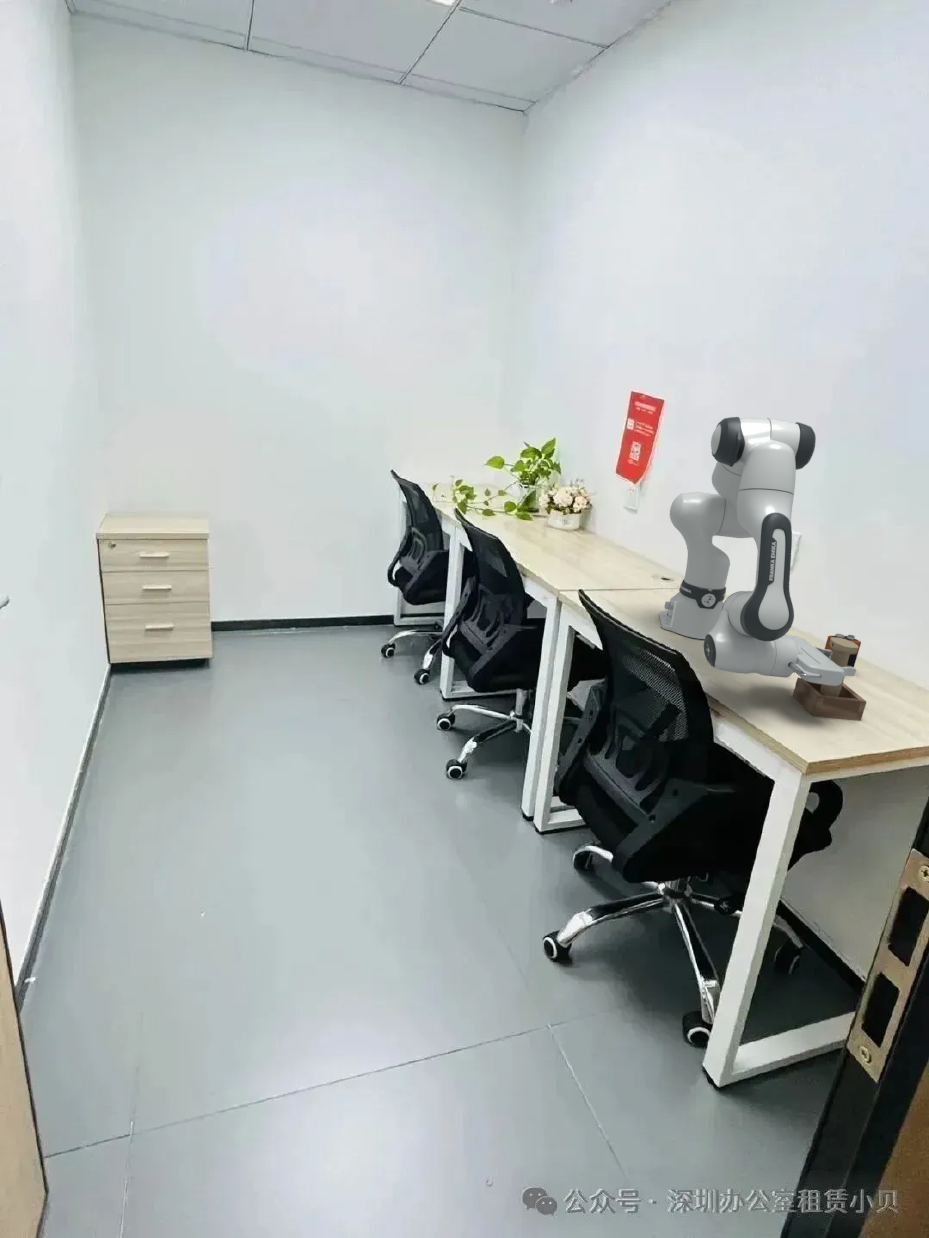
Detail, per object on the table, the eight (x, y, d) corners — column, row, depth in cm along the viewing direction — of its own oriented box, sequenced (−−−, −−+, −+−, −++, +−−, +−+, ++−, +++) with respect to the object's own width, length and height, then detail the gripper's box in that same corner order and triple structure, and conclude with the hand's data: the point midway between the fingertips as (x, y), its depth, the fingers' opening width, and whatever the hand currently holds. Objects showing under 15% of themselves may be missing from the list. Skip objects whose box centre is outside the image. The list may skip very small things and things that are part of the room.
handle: (829, 700, 158) (847, 638, 153) (843, 712, 152) (863, 648, 147) (808, 698, 158) (826, 636, 153) (822, 710, 151) (841, 646, 147)
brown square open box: (792, 695, 160) (797, 677, 158) (837, 699, 160) (842, 681, 158) (813, 716, 150) (818, 697, 148) (860, 720, 150) (866, 701, 148)
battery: (818, 668, 179) (828, 631, 176) (840, 668, 180) (851, 632, 177) (829, 674, 175) (840, 638, 172) (852, 675, 176) (863, 638, 173)
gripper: (804, 661, 140) (872, 668, 140) (765, 627, 160) (824, 633, 160) (797, 689, 142) (863, 696, 142) (759, 653, 162) (817, 658, 162)
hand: (842, 662), depth 151 cm, fingers open, 8 cm apart
